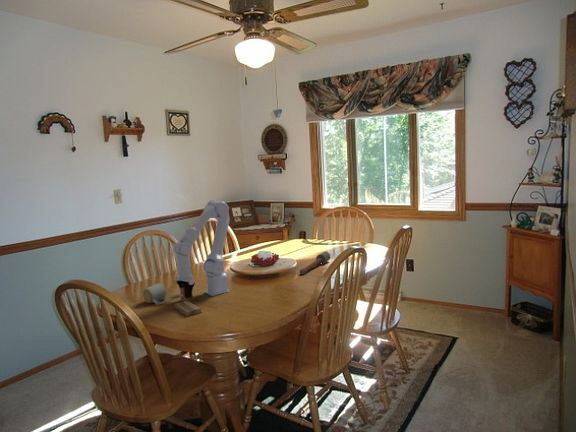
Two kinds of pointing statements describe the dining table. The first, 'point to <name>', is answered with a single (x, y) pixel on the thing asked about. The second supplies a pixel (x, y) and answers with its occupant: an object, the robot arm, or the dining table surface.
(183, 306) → the board
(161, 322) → the dining table surface
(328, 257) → the mallet
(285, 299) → the dining table surface
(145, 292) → the ceramic mug
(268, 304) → the dining table surface
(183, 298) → the block with upright post
